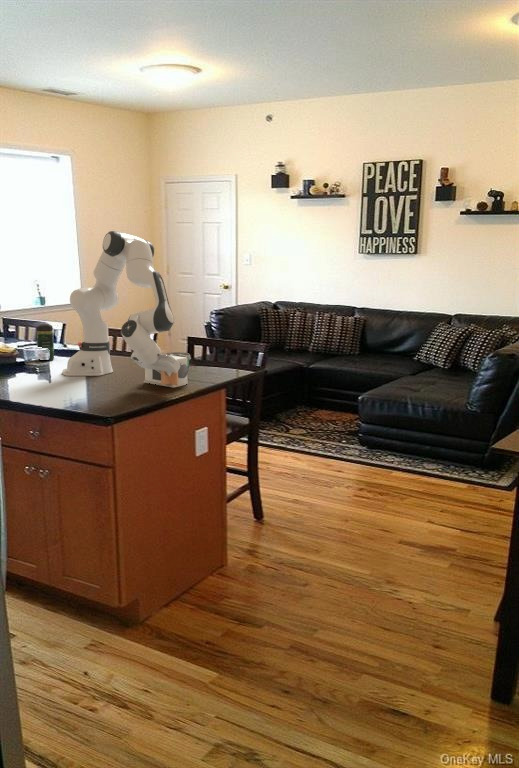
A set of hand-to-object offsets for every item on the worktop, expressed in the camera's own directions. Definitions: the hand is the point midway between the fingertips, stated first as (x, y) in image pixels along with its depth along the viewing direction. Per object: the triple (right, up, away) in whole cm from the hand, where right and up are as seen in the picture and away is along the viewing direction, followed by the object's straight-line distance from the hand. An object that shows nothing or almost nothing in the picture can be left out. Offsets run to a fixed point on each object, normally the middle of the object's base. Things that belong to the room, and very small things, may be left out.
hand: (166, 374), depth 265 cm
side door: (0, -4, +1) cm, 5 cm away
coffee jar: (-70, +8, +64) cm, 95 cm away
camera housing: (-2, -4, +11) cm, 12 cm away
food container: (+2, 0, +31) cm, 31 cm away
